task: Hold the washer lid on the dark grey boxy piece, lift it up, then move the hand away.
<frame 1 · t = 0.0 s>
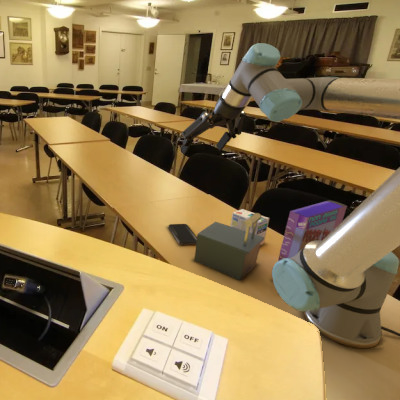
hand: (201, 149, 108), 36 cm above the table, tool tilted 35°, fingers open, 13 cm apart
cereal box: (299, 278, 100), on the table
washer lid: (232, 224, 103), point 15 cm above the table, hinge at 0.0°
light bulb box: (245, 241, 122), on the table
dark grey boxy piece: (224, 262, 109), on the table
phone: (182, 235, 127), on the table
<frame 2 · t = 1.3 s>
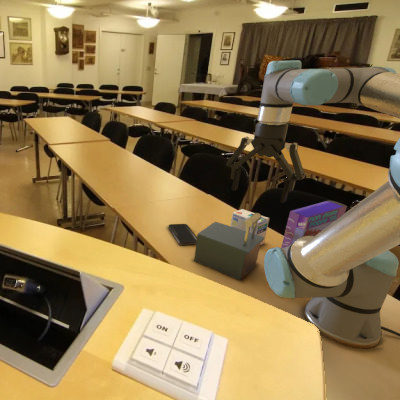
hand: (257, 195, 95), 26 cm above the table, tool pointing down, fingers open, 13 cm apart
nothing on the table moved.
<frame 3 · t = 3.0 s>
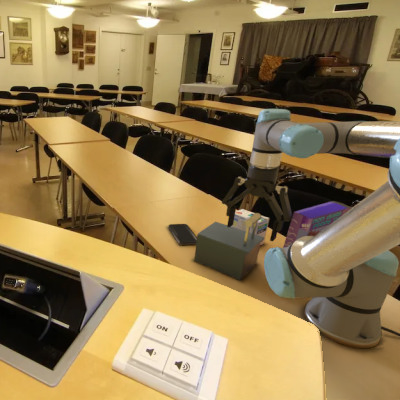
hand: (250, 232, 99), 14 cm above the table, tool pointing down, fingers open, 12 cm apart
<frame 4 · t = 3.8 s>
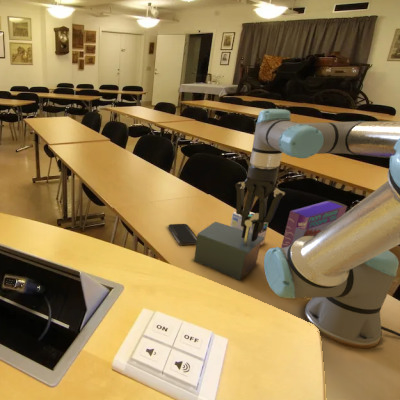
hand: (249, 237, 100), 12 cm above the table, tool pointing down, fingers closed on washer lid, 2 cm apart
washer lid: (232, 224, 103), point 15 cm above the table, hinge at 0.0°, touching gripper
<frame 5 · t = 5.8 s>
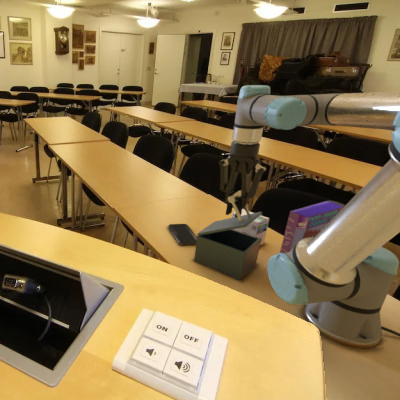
hand: (233, 214, 102), 18 cm above the table, tool pointing down, fingers closed on washer lid, 2 cm apart
washer lid: (223, 211, 104), point 18 cm above the table, hinge at 30.7°, touching gripper
everything else where it was.
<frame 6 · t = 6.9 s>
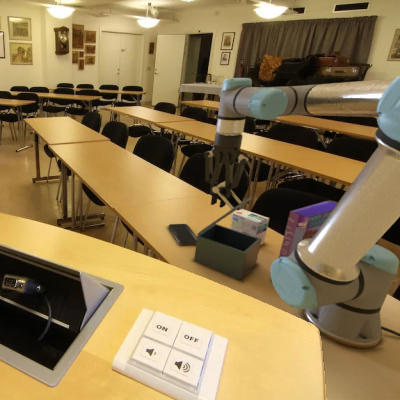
hand: (218, 204, 105), 20 cm above the table, tool pointing down, fingers closed on washer lid, 2 cm apart
washer lid: (215, 205, 105), point 19 cm above the table, hinge at 50.5°, touching gripper
everything else where it was.
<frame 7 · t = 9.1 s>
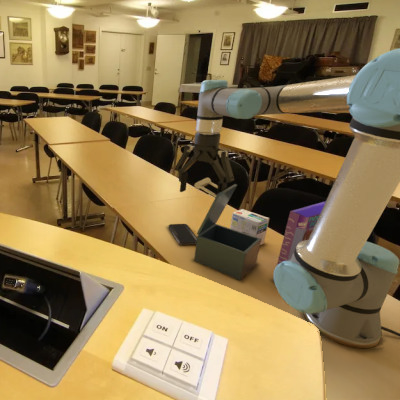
hand: (199, 195, 109), 21 cm above the table, tool pointing down, fingers open, 12 cm apart
washer lid: (205, 202, 108), point 19 cm above the table, hinge at 72.4°, touching gripper
everything else where it was.
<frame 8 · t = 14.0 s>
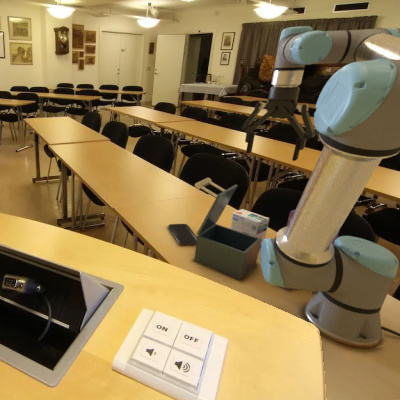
hand: (270, 156, 103), 35 cm above the table, tool pointing down, fingers open, 13 cm apart
washer lid: (205, 202, 108), point 19 cm above the table, hinge at 71.5°
everything else where it was.
at the end: washer lid at +72° (first picture: +0°); the gripper is holding nothing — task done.
